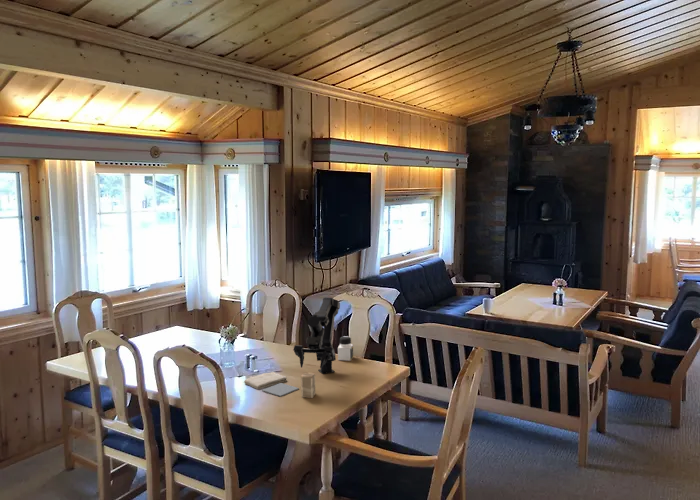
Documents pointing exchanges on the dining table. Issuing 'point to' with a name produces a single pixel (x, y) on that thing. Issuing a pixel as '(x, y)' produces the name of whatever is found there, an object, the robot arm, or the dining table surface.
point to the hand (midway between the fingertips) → (310, 367)
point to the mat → (280, 389)
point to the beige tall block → (308, 385)
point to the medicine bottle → (345, 349)
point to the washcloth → (265, 380)
